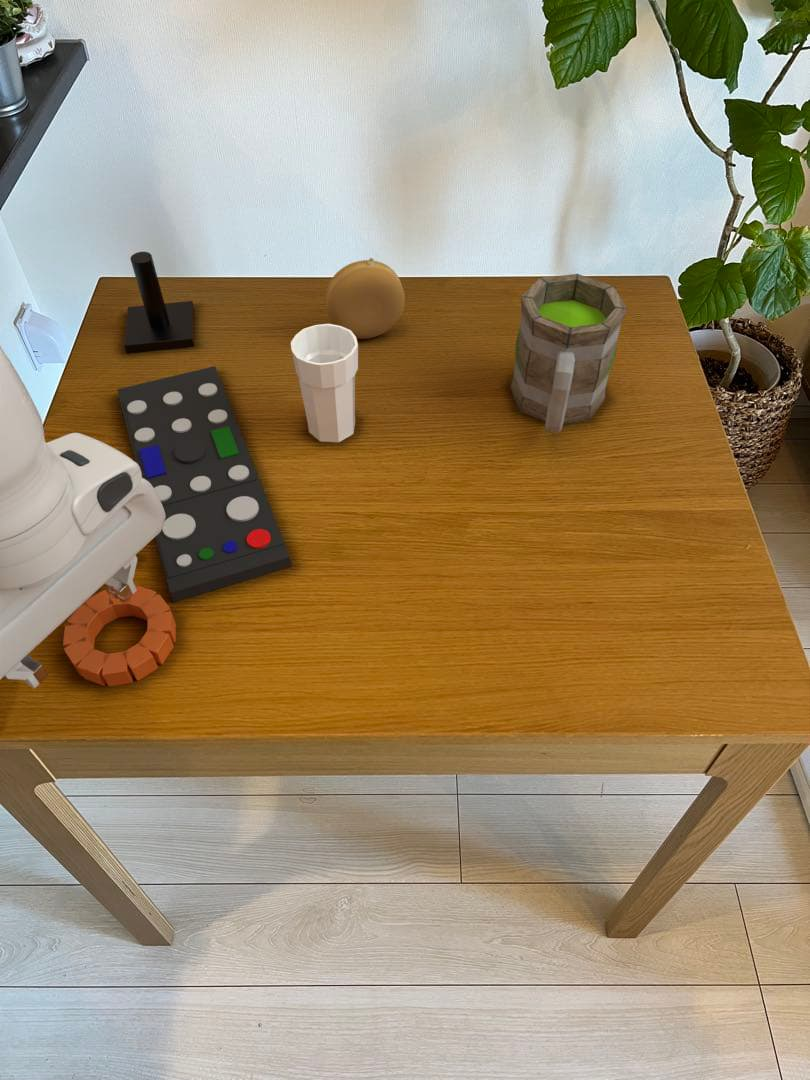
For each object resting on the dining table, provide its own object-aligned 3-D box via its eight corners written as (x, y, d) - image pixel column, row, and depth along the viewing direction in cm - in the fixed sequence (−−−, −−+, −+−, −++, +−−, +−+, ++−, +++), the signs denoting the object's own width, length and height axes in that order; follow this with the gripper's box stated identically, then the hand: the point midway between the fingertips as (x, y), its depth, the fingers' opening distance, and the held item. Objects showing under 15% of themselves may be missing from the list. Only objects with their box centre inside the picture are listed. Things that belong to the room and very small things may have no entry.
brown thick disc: (400, 319, 101) (399, 246, 93) (407, 337, 99) (407, 263, 91) (326, 331, 99) (319, 257, 92) (332, 349, 97) (325, 275, 89)
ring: (65, 692, 67) (57, 680, 66) (76, 605, 73) (69, 592, 71) (175, 677, 68) (169, 665, 67) (176, 592, 74) (171, 579, 72)
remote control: (173, 602, 73) (168, 589, 72) (120, 399, 91) (115, 385, 90) (291, 566, 76) (289, 553, 74) (217, 376, 94) (214, 362, 92)
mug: (515, 358, 96) (526, 267, 87) (607, 370, 94) (628, 279, 85) (498, 448, 86) (509, 357, 77) (600, 463, 85) (623, 371, 75)
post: (126, 353, 97) (102, 279, 89) (130, 314, 102) (107, 241, 94) (194, 346, 97) (175, 272, 90) (194, 308, 102) (177, 235, 95)
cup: (321, 400, 91) (312, 317, 83) (373, 417, 89) (369, 334, 81) (290, 436, 87) (278, 353, 79) (344, 454, 85) (337, 372, 77)
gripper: (-91, 656, 47) (3, 757, 58) (154, 450, 58) (196, 567, 69) (-154, 609, 50) (-53, 714, 60) (93, 419, 60) (142, 536, 71)
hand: (81, 634), depth 65 cm, fingers open, 8 cm apart
